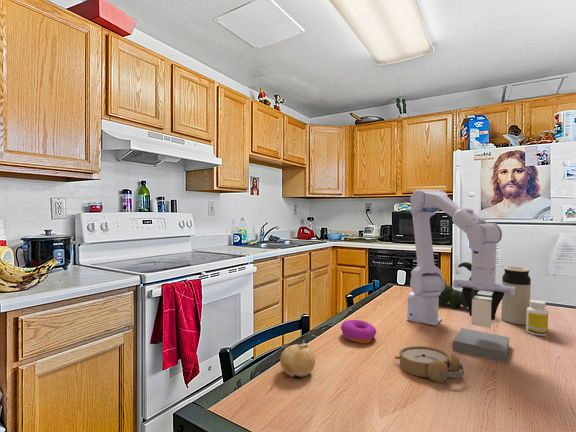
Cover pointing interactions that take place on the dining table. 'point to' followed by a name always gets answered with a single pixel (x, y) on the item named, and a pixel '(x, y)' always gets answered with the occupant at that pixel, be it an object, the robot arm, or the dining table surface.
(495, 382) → the dining table surface
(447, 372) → the alarm clock
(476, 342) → the base block
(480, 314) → the ivory block
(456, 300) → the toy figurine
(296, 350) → the onion
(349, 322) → the donut
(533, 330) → the supplement bottle
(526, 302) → the travel mug
